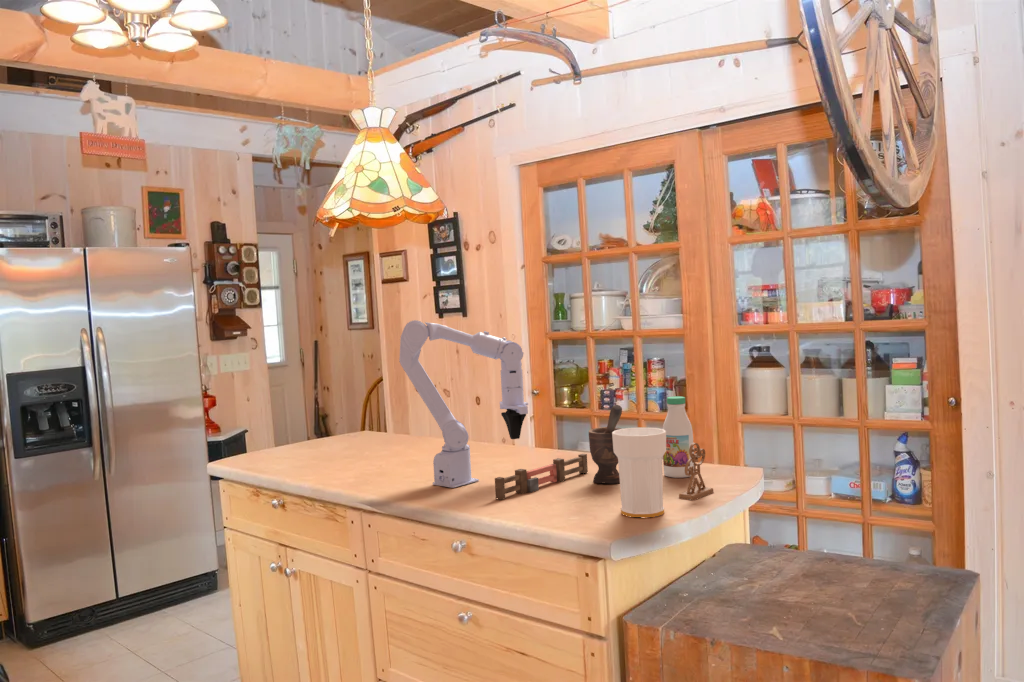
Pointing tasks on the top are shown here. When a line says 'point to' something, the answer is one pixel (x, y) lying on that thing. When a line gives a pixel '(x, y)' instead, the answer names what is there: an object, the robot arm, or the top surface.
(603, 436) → the mortar and pestle
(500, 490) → the fence
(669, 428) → the milk bottle
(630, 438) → the cup
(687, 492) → the gingerbread man figurine
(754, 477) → the top surface
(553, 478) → the gate
